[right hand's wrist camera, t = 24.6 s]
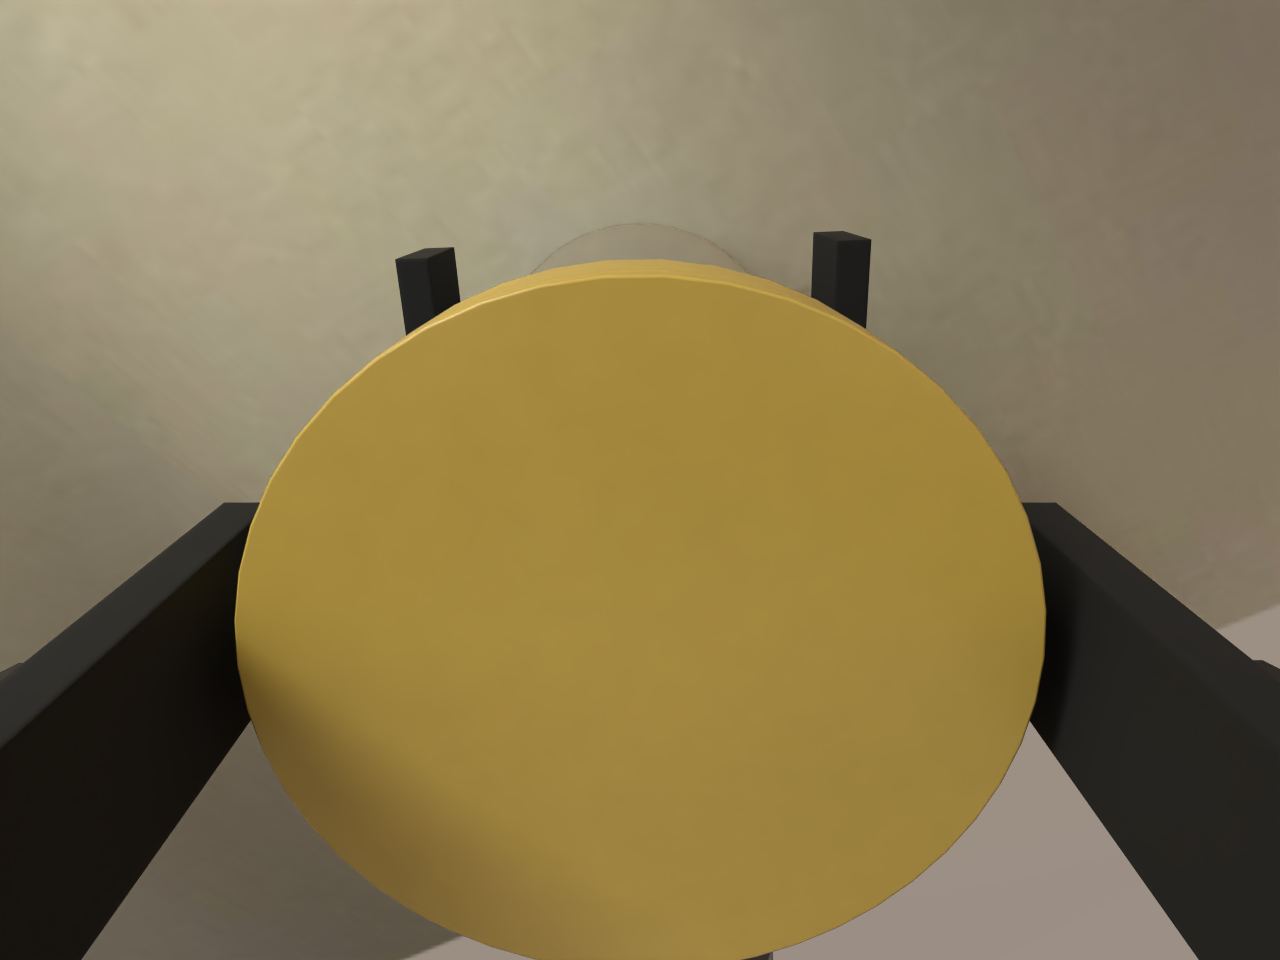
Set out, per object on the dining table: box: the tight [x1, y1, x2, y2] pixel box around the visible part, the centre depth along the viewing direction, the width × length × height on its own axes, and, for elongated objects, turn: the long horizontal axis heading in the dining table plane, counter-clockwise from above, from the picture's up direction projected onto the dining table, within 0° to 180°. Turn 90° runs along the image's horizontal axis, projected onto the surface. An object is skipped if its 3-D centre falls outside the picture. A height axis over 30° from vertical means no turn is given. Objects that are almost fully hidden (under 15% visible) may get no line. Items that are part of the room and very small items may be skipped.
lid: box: [235, 259, 1046, 960], centre depth 11 cm, size 10×10×2 cm
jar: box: [530, 224, 750, 275], centre depth 19 cm, size 9×9×17 cm
